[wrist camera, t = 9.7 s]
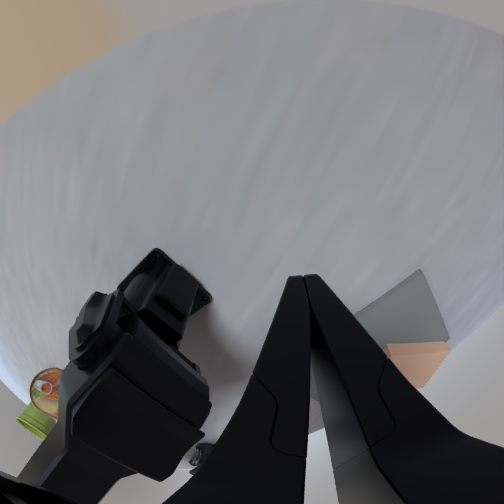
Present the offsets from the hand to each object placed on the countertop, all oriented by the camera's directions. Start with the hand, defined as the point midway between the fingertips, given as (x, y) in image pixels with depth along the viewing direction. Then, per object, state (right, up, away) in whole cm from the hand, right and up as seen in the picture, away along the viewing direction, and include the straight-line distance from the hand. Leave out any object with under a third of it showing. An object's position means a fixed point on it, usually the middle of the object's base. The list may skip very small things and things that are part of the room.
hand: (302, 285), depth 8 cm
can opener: (-11, -38, +35) cm, 53 cm away
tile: (+12, -12, +19) cm, 25 cm away
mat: (+11, -10, +19) cm, 25 cm away
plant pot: (-45, -31, +32) cm, 63 cm away
